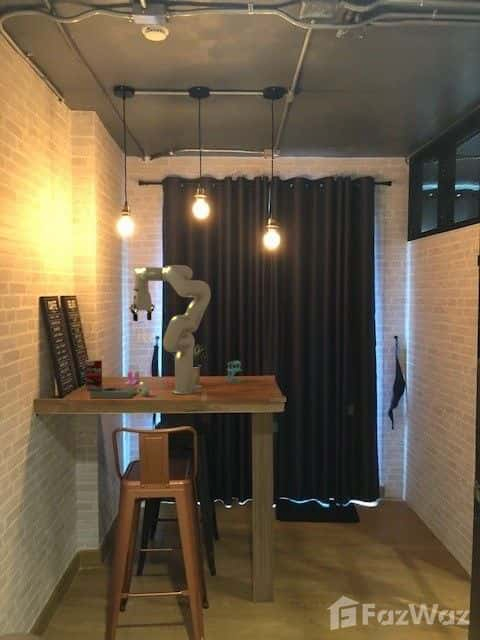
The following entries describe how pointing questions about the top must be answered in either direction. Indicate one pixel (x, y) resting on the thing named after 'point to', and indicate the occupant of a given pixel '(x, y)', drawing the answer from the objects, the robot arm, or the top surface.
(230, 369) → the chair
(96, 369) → the supplement box
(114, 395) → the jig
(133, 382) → the pink notched block
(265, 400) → the top surface
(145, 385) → the bushing
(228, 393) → the top surface
